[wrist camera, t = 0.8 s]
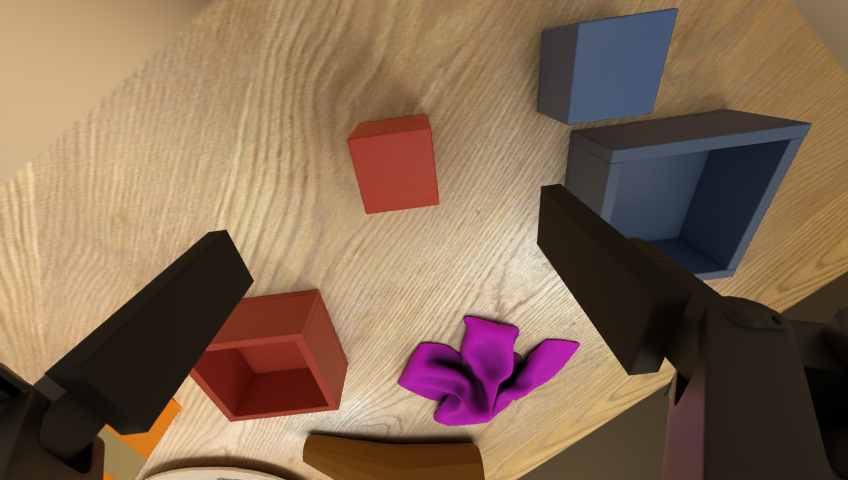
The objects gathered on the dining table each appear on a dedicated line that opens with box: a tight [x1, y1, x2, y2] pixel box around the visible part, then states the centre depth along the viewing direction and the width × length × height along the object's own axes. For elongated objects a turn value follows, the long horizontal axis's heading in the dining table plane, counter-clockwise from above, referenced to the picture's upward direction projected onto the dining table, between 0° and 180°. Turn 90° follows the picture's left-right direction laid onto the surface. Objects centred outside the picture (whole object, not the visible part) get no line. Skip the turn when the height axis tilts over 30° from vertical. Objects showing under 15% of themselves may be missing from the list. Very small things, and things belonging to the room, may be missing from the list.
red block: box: [347, 114, 439, 214], centre depth 21 cm, size 5×5×5 cm
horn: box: [303, 435, 485, 480], centre depth 43 cm, size 8×10×25 cm
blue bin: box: [565, 109, 812, 281], centre depth 23 cm, size 12×12×6 cm
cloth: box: [397, 317, 580, 426], centre depth 35 cm, size 22×19×6 cm
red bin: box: [189, 290, 348, 422], centre depth 31 cm, size 12×12×6 cm
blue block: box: [537, 8, 678, 125], centre depth 19 cm, size 5×5×5 cm
